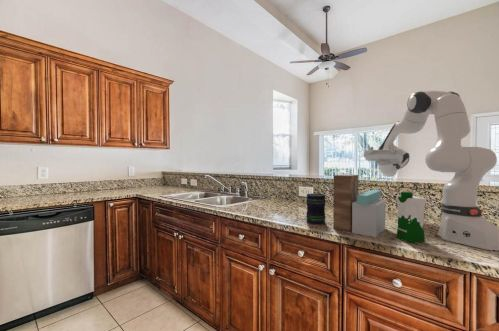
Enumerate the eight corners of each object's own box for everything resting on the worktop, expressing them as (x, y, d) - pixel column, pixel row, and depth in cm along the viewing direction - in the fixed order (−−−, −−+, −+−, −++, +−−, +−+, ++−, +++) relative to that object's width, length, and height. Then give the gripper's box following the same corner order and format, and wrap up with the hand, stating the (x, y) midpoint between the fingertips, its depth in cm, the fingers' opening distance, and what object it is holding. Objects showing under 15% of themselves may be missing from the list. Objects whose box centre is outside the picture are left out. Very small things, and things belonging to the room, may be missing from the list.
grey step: (363, 225, 124) (363, 197, 124) (385, 228, 117) (385, 199, 117) (352, 232, 110) (352, 202, 110) (376, 237, 104) (376, 205, 103)
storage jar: (326, 225, 124) (326, 196, 123) (306, 224, 126) (306, 195, 125) (324, 220, 133) (324, 193, 133) (306, 219, 135) (306, 193, 135)
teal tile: (372, 197, 126) (372, 189, 126) (380, 198, 123) (381, 190, 123) (357, 204, 106) (357, 195, 106) (367, 205, 103) (367, 195, 103)
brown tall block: (342, 223, 127) (342, 174, 126) (358, 226, 121) (358, 174, 121) (333, 228, 117) (333, 175, 117) (350, 231, 112) (350, 176, 112)
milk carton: (393, 237, 104) (393, 191, 104) (411, 236, 106) (411, 190, 105) (409, 244, 96) (410, 193, 95) (429, 242, 97) (430, 193, 97)
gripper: (367, 155, 152) (361, 143, 142) (405, 155, 138) (402, 142, 129) (365, 164, 149) (360, 153, 140) (404, 164, 136) (401, 152, 127)
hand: (380, 147), depth 135 cm, fingers open, 8 cm apart
